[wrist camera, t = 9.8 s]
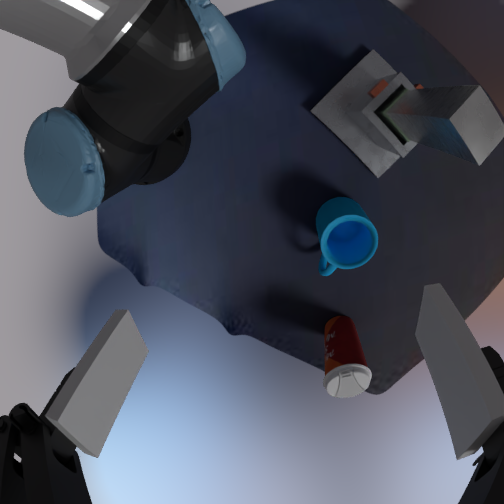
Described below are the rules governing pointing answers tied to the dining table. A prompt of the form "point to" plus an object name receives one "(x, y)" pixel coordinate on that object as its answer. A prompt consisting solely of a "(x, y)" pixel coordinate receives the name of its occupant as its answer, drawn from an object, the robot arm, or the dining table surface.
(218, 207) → the dining table surface
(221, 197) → the dining table surface
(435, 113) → the column
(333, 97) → the stand base
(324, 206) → the mug
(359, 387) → the coffee cup
